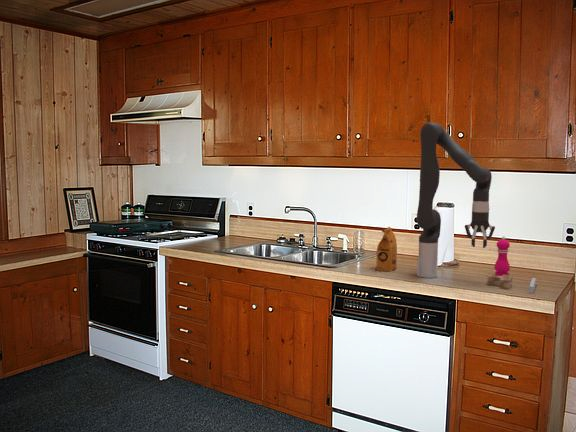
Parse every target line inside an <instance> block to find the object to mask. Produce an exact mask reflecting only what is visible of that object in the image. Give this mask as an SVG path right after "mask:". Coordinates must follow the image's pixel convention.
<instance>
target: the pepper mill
mask: <svg viewBox="0 0 576 432" xmlns="http://www.w3.org/2000/svg"><path fill="white" fill-rule="evenodd" d="M510 246H511V245H510V241H508V239H506V236H501V239H499V240H498V241H497V242H496V248H497V255H498V256H497V259H496V261H495V263H494V270H495V272H494V275H496V276H503V275H510V274H509V271H510V270H511V266H510V262H509V260H508V253H509V248H510Z"/></svg>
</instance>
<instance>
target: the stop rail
mask: <svg viewBox="0 0 576 432" xmlns="http://www.w3.org/2000/svg"><path fill="white" fill-rule="evenodd" d="M536 282H537V278H536V277H532V278H531V281H530V284H529V290H528V291H529V292H528V293H529V294H534V291H535V287H536V284H537V283H536Z"/></svg>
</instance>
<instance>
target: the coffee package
mask: <svg viewBox="0 0 576 432" xmlns="http://www.w3.org/2000/svg"><path fill="white" fill-rule="evenodd" d="M381 232H382V233H384V234H382V238H381V240H380V241H379V242H378V244H377V248H376V267H375V268H376V270H377V271H378V272H379V271H380V272H386V273H389V272H392V271H396V269H397V265H398V264H397V259H398V258H397V255H398V247H397V237H396V235H395V233H394V231H393V230H392V228H391V227H390V226H387V228H383V229H382V230H381Z"/></svg>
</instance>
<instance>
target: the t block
mask: <svg viewBox="0 0 576 432" xmlns="http://www.w3.org/2000/svg"><path fill="white" fill-rule="evenodd" d="M486 283H487V284H486V285H487V286H492V287H493V286H494V287H499V289H500V288H501V289H503V290H510V289H511V286H512V285H511V284H513V275H512V274H511V275H510V274H509V275H503V276H496V275H495V274H488V275H487V281H486Z"/></svg>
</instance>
